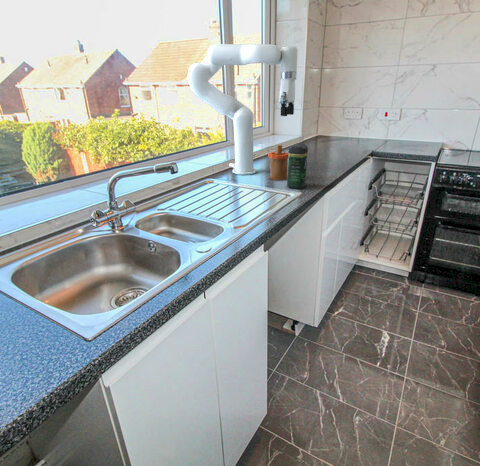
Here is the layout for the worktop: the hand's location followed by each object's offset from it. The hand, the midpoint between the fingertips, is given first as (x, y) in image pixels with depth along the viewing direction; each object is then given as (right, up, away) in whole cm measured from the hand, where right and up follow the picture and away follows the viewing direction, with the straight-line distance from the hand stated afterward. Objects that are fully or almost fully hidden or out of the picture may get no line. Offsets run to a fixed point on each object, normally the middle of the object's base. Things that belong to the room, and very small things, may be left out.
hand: (287, 115), depth 161 cm
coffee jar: (+3, -37, -13) cm, 39 cm away
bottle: (-4, -31, 0) cm, 31 cm away
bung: (-5, -22, -5) cm, 23 cm away
